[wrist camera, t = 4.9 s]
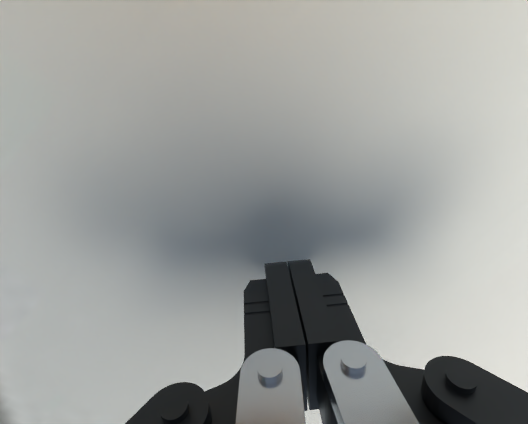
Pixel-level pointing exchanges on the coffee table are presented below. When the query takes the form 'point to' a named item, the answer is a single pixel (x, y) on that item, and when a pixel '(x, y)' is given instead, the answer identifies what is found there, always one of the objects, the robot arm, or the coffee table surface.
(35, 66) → the coffee table surface
